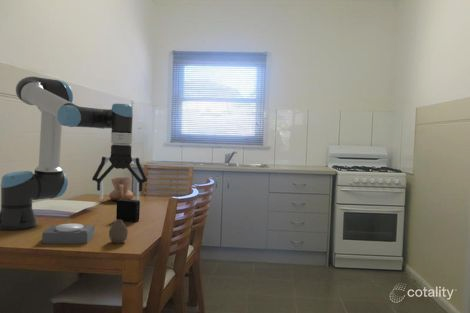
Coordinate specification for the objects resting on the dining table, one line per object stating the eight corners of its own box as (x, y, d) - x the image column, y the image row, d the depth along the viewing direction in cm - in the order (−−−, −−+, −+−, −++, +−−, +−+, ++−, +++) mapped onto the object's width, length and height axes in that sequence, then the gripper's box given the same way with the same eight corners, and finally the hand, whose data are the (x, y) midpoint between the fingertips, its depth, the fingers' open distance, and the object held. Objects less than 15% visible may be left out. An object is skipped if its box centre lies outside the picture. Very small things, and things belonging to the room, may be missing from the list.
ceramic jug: (110, 197, 245) (110, 175, 244) (133, 197, 248) (134, 176, 247) (107, 203, 227) (107, 179, 226) (132, 203, 231) (133, 180, 230)
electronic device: (135, 222, 181) (136, 201, 180) (116, 220, 183) (116, 200, 182) (139, 220, 185) (140, 200, 184) (120, 219, 187) (121, 198, 186)
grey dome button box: (42, 243, 141) (42, 230, 141) (52, 234, 153) (52, 222, 153) (87, 243, 144) (87, 230, 144) (94, 235, 156) (94, 223, 155)
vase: (115, 239, 152) (116, 217, 151) (130, 241, 150) (131, 219, 149) (105, 243, 145) (105, 220, 145) (120, 245, 143) (121, 222, 143)
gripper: (84, 143, 140) (83, 200, 141) (154, 146, 144) (152, 201, 145) (89, 142, 147) (88, 197, 149) (155, 145, 151) (153, 198, 152)
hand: (119, 199), depth 147 cm, fingers open, 13 cm apart
